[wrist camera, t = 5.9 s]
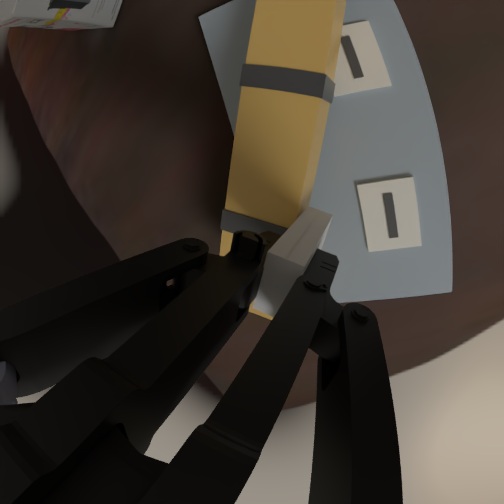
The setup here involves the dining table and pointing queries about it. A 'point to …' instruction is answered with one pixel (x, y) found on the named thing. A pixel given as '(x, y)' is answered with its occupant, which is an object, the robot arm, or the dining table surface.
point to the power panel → (366, 153)
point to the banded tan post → (281, 115)
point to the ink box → (59, 13)
